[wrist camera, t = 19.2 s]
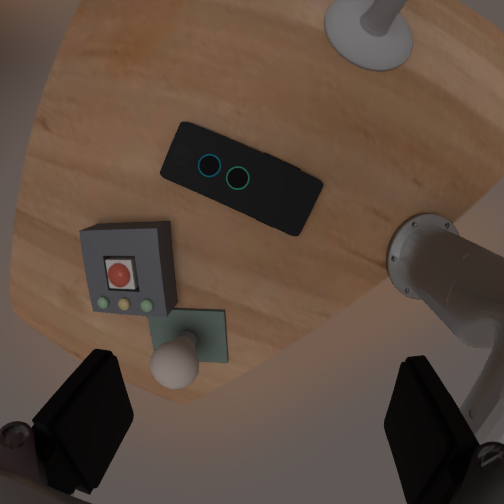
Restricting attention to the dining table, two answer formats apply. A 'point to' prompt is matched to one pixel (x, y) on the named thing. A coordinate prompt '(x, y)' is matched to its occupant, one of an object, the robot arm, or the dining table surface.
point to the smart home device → (241, 178)
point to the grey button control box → (147, 264)
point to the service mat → (194, 331)
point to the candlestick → (369, 33)
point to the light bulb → (176, 362)
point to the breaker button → (122, 272)
